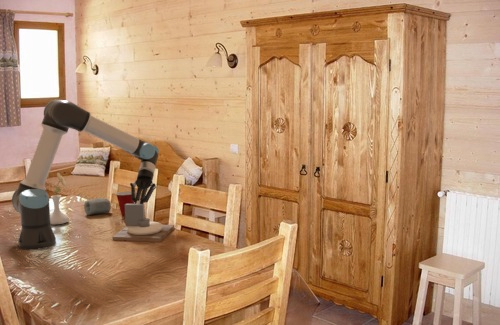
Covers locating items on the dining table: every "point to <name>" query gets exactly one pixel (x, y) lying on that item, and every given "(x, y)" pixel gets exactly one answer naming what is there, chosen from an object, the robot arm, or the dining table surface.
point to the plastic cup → (124, 200)
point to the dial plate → (151, 237)
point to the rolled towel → (97, 206)
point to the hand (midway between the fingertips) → (136, 214)
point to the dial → (139, 221)
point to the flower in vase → (57, 215)
